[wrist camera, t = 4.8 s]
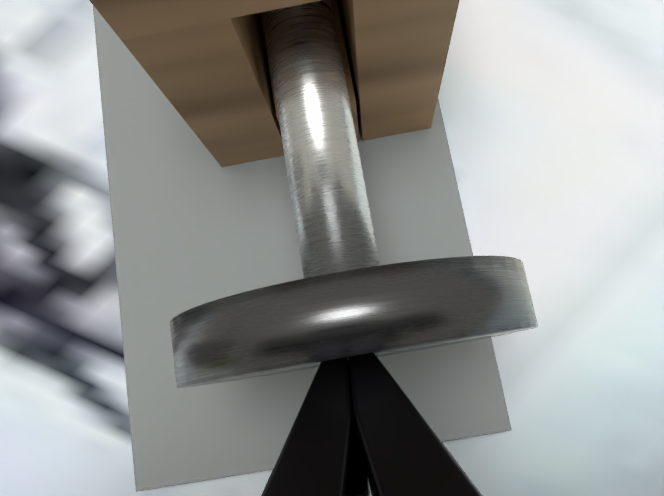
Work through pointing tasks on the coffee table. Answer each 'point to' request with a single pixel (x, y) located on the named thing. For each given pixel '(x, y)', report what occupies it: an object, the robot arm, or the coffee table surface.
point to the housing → (255, 73)
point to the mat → (257, 278)
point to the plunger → (338, 247)
